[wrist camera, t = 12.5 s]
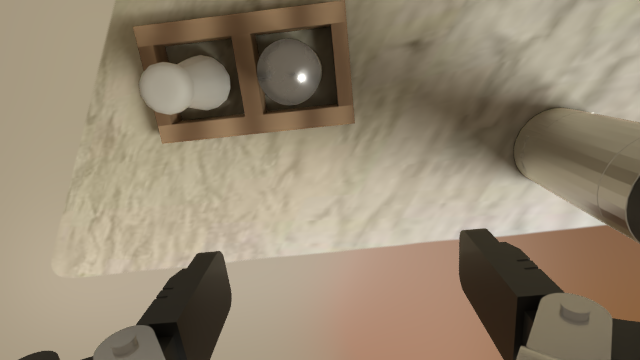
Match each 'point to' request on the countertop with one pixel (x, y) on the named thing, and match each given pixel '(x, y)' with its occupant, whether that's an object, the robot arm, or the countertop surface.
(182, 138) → the spice rail
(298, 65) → the pepper shaker
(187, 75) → the salt shaker
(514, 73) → the countertop surface
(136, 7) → the countertop surface
